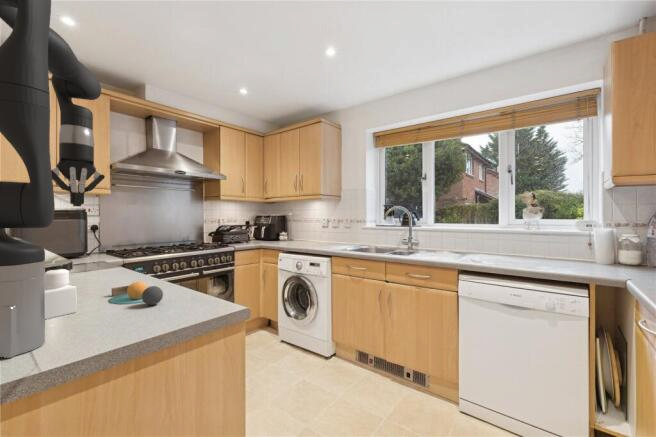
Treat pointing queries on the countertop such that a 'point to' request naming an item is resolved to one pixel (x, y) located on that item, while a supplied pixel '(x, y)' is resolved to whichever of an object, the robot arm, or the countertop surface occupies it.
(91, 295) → the countertop surface
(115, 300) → the teal mark
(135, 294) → the orange ball
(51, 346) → the countertop surface
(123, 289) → the walnut stopper strip
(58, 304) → the medicine bottle
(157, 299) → the black ball
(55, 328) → the countertop surface
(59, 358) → the countertop surface
